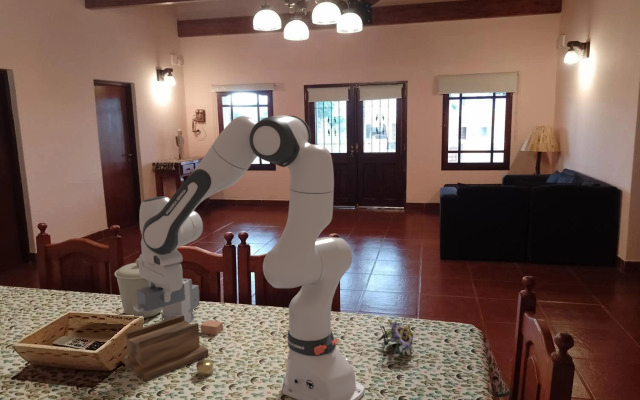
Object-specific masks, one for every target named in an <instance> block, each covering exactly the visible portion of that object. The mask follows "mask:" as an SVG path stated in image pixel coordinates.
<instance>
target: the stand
mask: <svg viewBox="0 0 640 400" xmlns="http://www.w3.org/2000/svg"><path fill="white" fill-rule="evenodd" d="M199 326H200V325H199V323H198V322H195V323H192V324H191V322H190V323H188V322H186V321H185V320H184V315H181V316H178V317H175V318H172V319H168V320H165V321H162V320H161V321H159V322H156V323H154V324H153V323H152V324H149V325H147V326H144V327H140V328H137V329H134V330H131V331H127V332H126V333H125V335H126V348H127V350H126V352H128V355H126V356H125V357H124V360H123V362H122V364H124V365H125V366H126V367H128V368H129V370H131V371H132V372H133V373H135V374H136V375H137V376H138V377H139V378H140V379H141V380H142V381H144V382H146V381H149V380H151V379H154V378H156V377H158V376H161V375H163V374H166V373H169V372H171V371H174V370H176V369H179V368H182V367H184V366H186V365H188V364H192V363H194V362H196V361H200V360H203V359H204V358H206V357H209V349H208V348H207V347H205V346H203V345H201V343H200V329H199Z"/></svg>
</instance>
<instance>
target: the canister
mask: <svg viewBox="0 0 640 400" xmlns="http://www.w3.org/2000/svg"><path fill="white" fill-rule="evenodd" d="M114 277H115V278H116V280H117V285H118V290H119V294H120V299H121V304H122V308H123V310H124V311H123V312H124V313H125V315H126V316H127V315H134V316H143V317H144V318H143V319H147V318H151V317H154V316H157V315H158V314H161V313H162V312H161V311H163V307H160V308H157V309H154V310H150V311H147V312H146V311H141V312H137V311H135V310H134V309H133V307H134V306H137V305H138V302H137V290H138V289H141V288H145V287H149V286H150V285H149V281H148V280H146V279H144V278H142V277H141V276H140V273H139V257H138V258H137V259H136V260H135V262H132V263H128V264H125V265H122V266H121V267H119V268H118V269H117V270H116V271H115V272H114ZM160 312H161V313H160Z"/></svg>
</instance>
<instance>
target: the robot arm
mask: <svg viewBox="0 0 640 400" xmlns="http://www.w3.org/2000/svg"><path fill="white" fill-rule="evenodd" d="M311 138H312V133H311V129H310V126H309V125H308V123H307V122H306V120H304V119H302V118H301V117H299V116H295V115H285V114H277V115H272V116H266V117H264V118H262V119H260V120H259V121H257V120H255V119H254V118H252V117H249V116H245V115H241V116H236V117H235V118H233V119H232V120H231V121H230V122H229V123H228V124H227V125H226V126H225V127H224V128H223V130H222V131H221V132H220V134H218V136H217V137H216V139H215V140H214V142H213V143H212V144H211V146H210V148H209V149H208V151H207V152H206V153H205V155H204V156H203V158H202V159H201V161H200V162H199V163H198V165H197V166H195V168H194V170H193V171H192V172H191V173H190V174H189V175H188V177H187V178H186V179H185V180H184V181H183V182H182V183H181V185H180V186H179V188H178V189H177V190H176V192H174V194H173V195H172V196H171V197H170V198H169V196H165V195H162V196H161V195H160V196H156V197H150V198H146V199H144V200H143V201H142V202H141V203H140V206H139V214H138V215H139V217H138V218H139V231H140V233H141V240H140V241H141V242H140V247H141V253H140V254H139V257H138V258H139V273H140V276H141V277H142V278H144V279H146V280H148V281H149V285H150V286H153V285H155V284H156V285H158V286H160V287H162V288H163V291H164V295H163V296H162V298H163V301H164V302H169V301H170V300H171V297H170V295H171V293H172V292H174V291H177V290H180V289H181V288H182V285H183V277H184V276H183V267H182V264H181V263H182V262H183V254H181V252H180V251H179V250H178V248H182V247H184V246H186V245H188V244H190V243H191V242H194V241H197V240H198V239H199V238H200V237H201V236H202V234H203V232H204V221H203V218H202V217H201V214H200V213H198V212H197V211H196V208H198V206H199V205H200V204H201V203H202V202H203V201H205V200H206V199H208V198H209V197H211V196H213V195H215V194H217V193H219V192H221V191H223V190H226V189H229V188H231V187H232V186H234V185H235V184H236V183H237V182H238V181H240V180H241V178H242V177H244V175H245V174H246V173H247V171H248V169H250V167H251V165H252V164H253V162H254V161H255V160H256V158H260V159H262V160H263V161H266V162H268V163H271V164H274V165H277V166H279V167H282V168H286V167H287V168H288V170H289V176H290V177H289V180H290V181H289V200H288V201H289V203H288V215H287V218H286V219H287V220H286V224H285V227H284V229H283V232H282V233H281V236H280V237H279V239H278V241H277V242H276V243H275V245H274V246H273V247H272V248H271V249H270V250H268V252H267V253H266V255H265V257H264V258H263V262H262V271H263V275H264V278H265V279H266V281H267V282H268V284H270V285H271V286H272V288H275V289H294V288H298V287H301V288H300V290H299V291H298V292H297V294H296V295H295V296H294V297H293V298H292V299H291V301H290V303H289V305H288V327H289V328H288V332H287V337H286V339H287V346H288V355H287V360H286V367H285V369H286V370H285V376H284V379H283V384H284V386H283V387H282V394H283V395H285V396H288V397H290V398H293V399H295V400H360V399H361V398H362V397H363V395H364V394H365V391H366V390H365V386H364V385H362V383H360V382H359V381H358V380H357V379H356V375H355V369H354V368H353V366H352V365H351V363H350V359H348V358H347V357H346V358H345V356H344V355H343V354H342V353H341V351H340V350H339V349H338V348H337V344H338V343H339V341H338V340H339V338H336V339H335V338H334V334H333V331H332V329H331V328H332V327H331V323H332V321H331V320H332V318H331V317H332V316H331V314H332V304H333V299H334V296H335V293H336V291H337V288H338V285H339V283H340V281H341V279H342V278H343V276H344V275H345V273H347V271H348V270H349V269H350V267H351V266H352V262H353V253H352V249H351V246H350V244H348V242H347V241H346V240H345V239H344V238H341V237H333V236H332V237H331V236H326V237H325V236H324V237H319V236H320V234H321V233H322V232H323V231H324V230H325V228H327V226H329V225H330V223H331V222H332V220H333V214H334V213H333V212H334V192H335V191H334V190H335V189H334V188H335V178H334V177H335V175H334V173H335V172H334V163H333V159H332V158H333V157H332V155H331V152H330V151H329V149H327V148H325V146H322V145H319V144H312V143H310V142H311Z"/></svg>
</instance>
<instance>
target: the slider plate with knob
mask: <svg viewBox="0 0 640 400" xmlns="http://www.w3.org/2000/svg"><path fill="white" fill-rule="evenodd" d="M163 295H164V291H163V288H162V287H160V286H158V285H156V284H155V285H153V286H149V287H145V288H141V289H138V290H137V302H138V305H137V306H134V307H133V309H134V310H135V311H137V312H141V311H146V312H147V311H150V310H154V309H157V308H160V307H164V306H167V305H170V304H174V303H177V302H181V301H184V300H185V298H188V294H186V293H185V289H184V284H183V285H182V288H181V289H180V290H177V291H174V292H172V293H171V295H170V297H171V300H170V301H169V302H164V301H163V298H162V296H163Z"/></svg>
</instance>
